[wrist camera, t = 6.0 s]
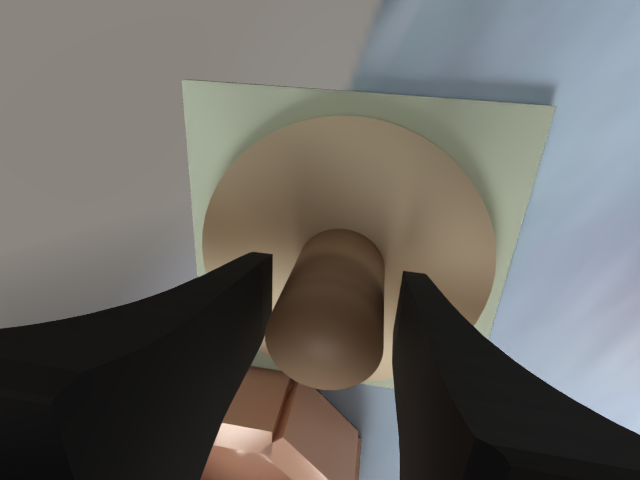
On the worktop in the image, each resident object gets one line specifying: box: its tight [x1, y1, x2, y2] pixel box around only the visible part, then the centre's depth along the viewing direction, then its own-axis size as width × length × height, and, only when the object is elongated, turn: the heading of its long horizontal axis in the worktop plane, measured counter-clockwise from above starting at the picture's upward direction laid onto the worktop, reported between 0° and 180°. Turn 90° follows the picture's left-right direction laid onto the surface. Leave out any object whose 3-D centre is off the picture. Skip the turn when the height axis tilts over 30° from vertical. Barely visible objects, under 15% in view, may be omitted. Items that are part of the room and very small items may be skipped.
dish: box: [200, 366, 361, 480], centre depth 17 cm, size 10×10×3 cm
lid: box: [202, 115, 496, 390], centre depth 11 cm, size 9×9×4 cm
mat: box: [182, 79, 556, 389], centre depth 13 cm, size 10×10×1 cm
